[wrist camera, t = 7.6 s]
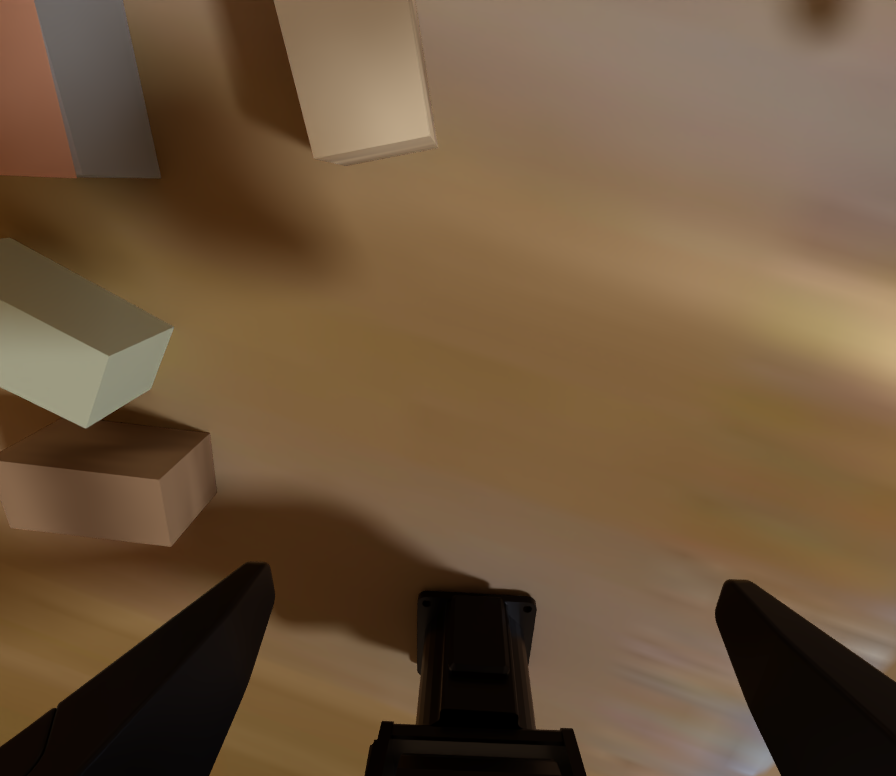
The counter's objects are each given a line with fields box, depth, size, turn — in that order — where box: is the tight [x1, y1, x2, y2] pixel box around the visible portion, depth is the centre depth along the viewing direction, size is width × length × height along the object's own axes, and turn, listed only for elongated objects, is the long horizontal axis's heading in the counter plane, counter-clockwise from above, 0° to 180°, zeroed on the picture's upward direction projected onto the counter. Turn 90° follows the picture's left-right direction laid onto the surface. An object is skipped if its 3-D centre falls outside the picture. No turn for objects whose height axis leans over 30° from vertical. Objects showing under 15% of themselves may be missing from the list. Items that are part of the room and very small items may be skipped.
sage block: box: [0, 238, 174, 429], centre depth 18 cm, size 7×4×4 cm, turn 58°
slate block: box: [34, 0, 161, 178], centre depth 14 cm, size 7×4×4 cm, turn 179°
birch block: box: [274, 0, 438, 166], centre depth 14 cm, size 7×4×4 cm, turn 9°
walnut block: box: [0, 418, 217, 547], centre depth 21 cm, size 7×4×4 cm, turn 84°
